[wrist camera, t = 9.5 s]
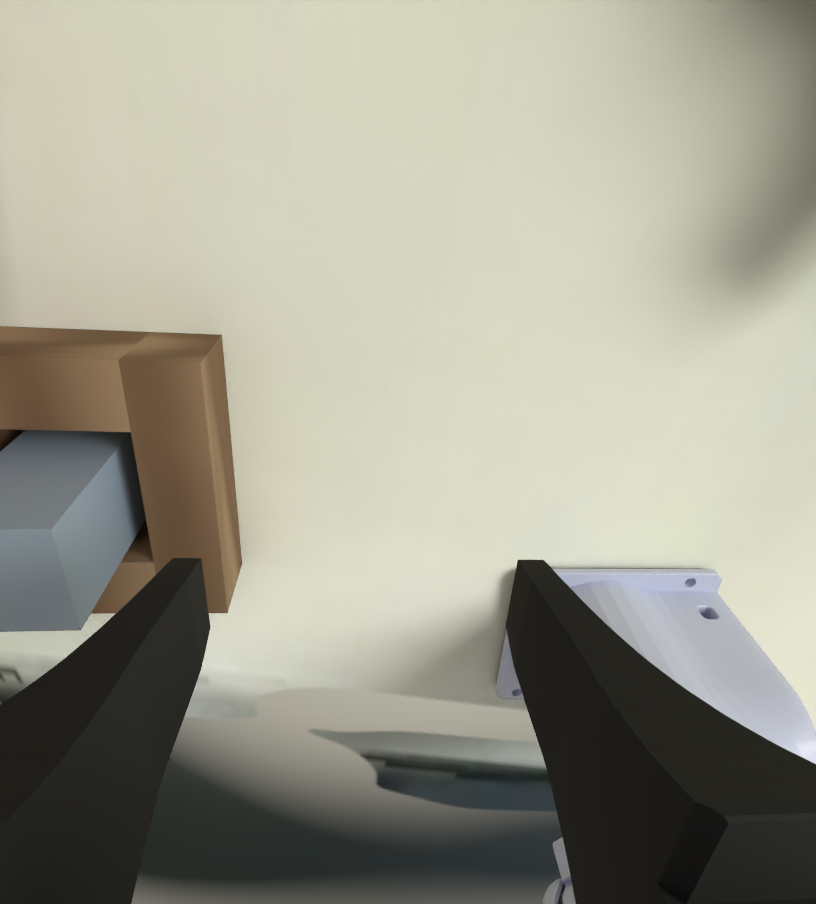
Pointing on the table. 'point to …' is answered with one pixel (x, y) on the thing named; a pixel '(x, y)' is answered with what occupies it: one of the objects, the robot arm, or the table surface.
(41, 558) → the peg
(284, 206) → the table surface
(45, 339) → the socket block
